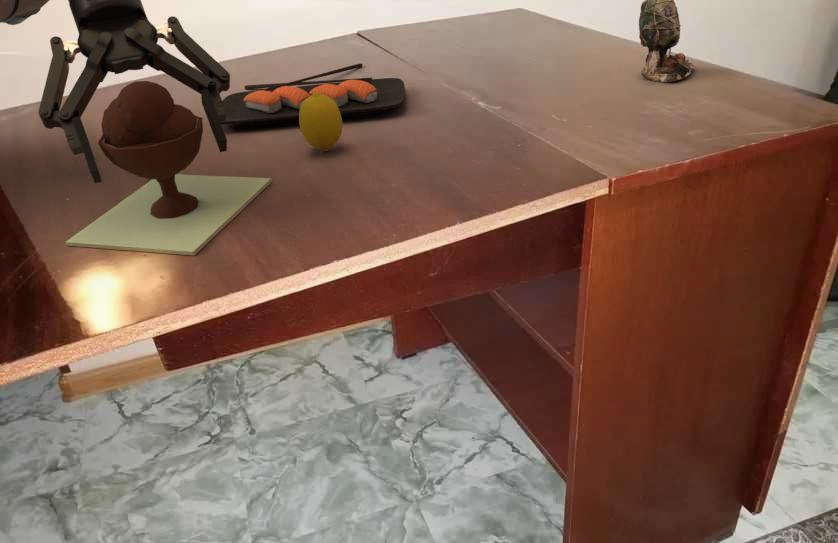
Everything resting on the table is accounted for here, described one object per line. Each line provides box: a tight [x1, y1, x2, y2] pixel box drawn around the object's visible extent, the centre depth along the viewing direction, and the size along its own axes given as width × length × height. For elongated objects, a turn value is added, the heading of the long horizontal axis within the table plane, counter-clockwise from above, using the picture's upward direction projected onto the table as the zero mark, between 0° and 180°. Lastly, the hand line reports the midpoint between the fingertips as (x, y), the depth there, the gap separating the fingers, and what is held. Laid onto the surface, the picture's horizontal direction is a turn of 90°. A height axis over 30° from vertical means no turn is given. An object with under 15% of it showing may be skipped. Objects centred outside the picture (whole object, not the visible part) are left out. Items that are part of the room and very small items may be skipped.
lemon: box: [298, 92, 343, 152], centre depth 91 cm, size 6×6×8 cm
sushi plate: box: [220, 62, 406, 127], centre depth 114 cm, size 29×30×4 cm
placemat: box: [65, 173, 273, 257], centre depth 81 cm, size 16×18×1 cm
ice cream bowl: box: [97, 80, 204, 219], centre depth 77 cm, size 11×11×15 cm
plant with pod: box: [638, 0, 695, 83], centre depth 103 cm, size 8×11×20 cm
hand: (162, 161), depth 75 cm, fingers open, 13 cm apart
